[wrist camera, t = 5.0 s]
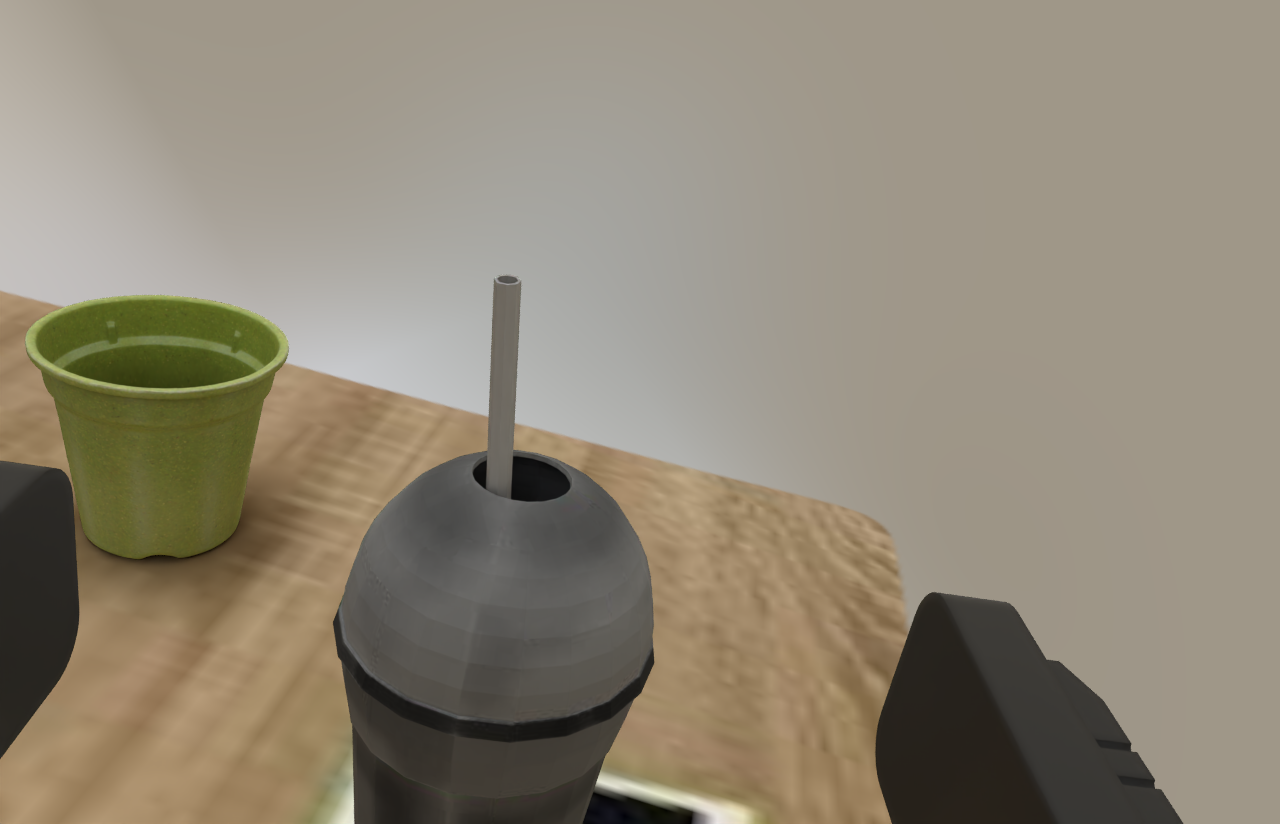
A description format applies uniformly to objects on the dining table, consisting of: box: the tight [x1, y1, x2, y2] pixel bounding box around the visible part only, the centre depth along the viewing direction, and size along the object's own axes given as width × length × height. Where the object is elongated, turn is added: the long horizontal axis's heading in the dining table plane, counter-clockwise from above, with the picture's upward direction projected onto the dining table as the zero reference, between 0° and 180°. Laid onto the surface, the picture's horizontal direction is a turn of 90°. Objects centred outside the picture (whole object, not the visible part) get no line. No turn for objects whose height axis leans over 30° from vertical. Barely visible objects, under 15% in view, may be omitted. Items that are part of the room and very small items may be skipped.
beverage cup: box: [333, 275, 654, 824], centre depth 24 cm, size 7×7×20 cm
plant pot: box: [25, 295, 289, 559], centre depth 42 cm, size 9×9×9 cm
